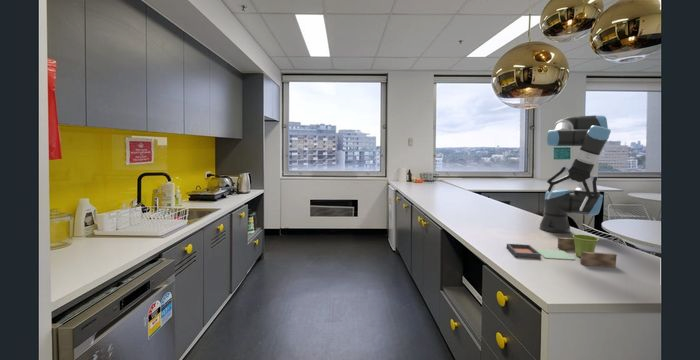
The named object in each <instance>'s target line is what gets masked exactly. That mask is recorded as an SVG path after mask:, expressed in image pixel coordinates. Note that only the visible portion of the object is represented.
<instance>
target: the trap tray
mask: <svg viewBox="0 0 700 360" xmlns="http://www.w3.org/2000/svg"><path fill="white" fill-rule="evenodd" d="M506 249H507V250H508V251H509V252H510V253H511V254H512V255H513V256H514V257H515V258H520V259H521V258H522V259H536V260H537V259H538V260H539V259H540V260H541V259H542V256H541V254H540V253H539V252H538V251H536V250H535V249H536V248H534V247H533V246H531V245H530V244H522V243H519V244H518V243H506Z"/></svg>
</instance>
